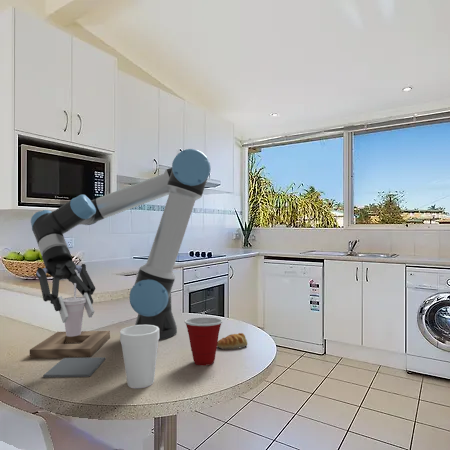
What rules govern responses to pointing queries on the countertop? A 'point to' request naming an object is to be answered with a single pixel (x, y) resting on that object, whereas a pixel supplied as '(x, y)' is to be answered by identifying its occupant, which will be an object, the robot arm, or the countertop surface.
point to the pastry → (232, 341)
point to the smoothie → (74, 314)
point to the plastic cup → (203, 338)
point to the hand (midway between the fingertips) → (79, 316)
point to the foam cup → (140, 354)
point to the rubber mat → (75, 367)
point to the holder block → (70, 345)
